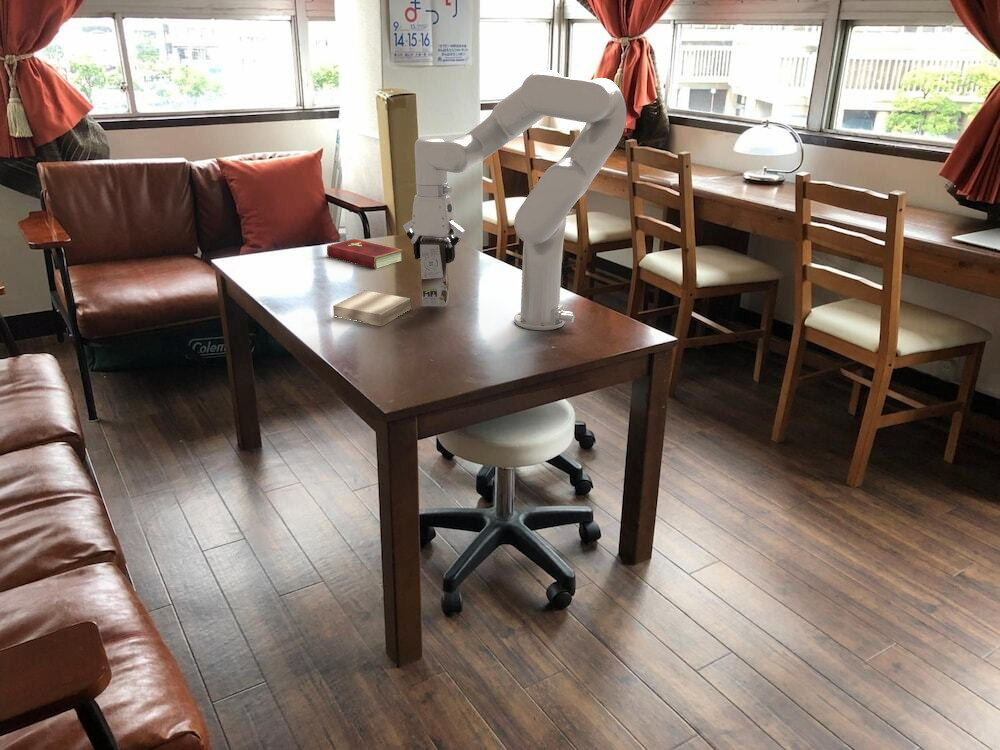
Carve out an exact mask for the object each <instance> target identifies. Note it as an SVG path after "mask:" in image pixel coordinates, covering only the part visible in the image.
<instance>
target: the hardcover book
mask: <svg viewBox="0 0 1000 750" xmlns="http://www.w3.org/2000/svg"><path fill="white" fill-rule="evenodd" d="M403 251H404V249H401V248H398V247H392V246H389V245H384V244H380V243H375V242H371V241H368V240H363V239H358V238H352V239H347V240H344V241H340V242H335V243H331V244H328V245H326V256H327V257H328V256H329V258H332V257H333V258H332V259H336V258H337V259H336V260H339V259H340V261H343V260H344V262H347V261H348V262H347V263H351V262H352V264H355V263H356V265H358V264H359V265H360V266H363V267H367V268H370V269H375V270H377V269H379V268H381V267H386V266H388V265H392V264H395V263H399V262H402V252H403Z"/></svg>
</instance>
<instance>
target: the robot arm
mask: <svg viewBox="0 0 1000 750" xmlns="http://www.w3.org/2000/svg"><path fill="white" fill-rule="evenodd" d="M545 117H551V118H557V119H562V120H568V121H574V122H579V123H585V125H584V126H583V128H582V130H580V132H579V133H578V135H577V136H576V138H575V140H574V141H573V143H572V144H571V145H570V147H569V148H568V150H567V151H566V152H565V153H564V155H563V156H562V157H561V158H560V159H559V160H558V161H556V162H554V163H553V164H552V165H551V166H549V167H548V168H547V169H546V170H545V172H544V173H543V174H542V175H541V176H540V178H539V180H538V181H537V182H536V184H535V185H534V186H533V188H532V189H531V190H530V192H529V194H528V195H527V197H526V198H525V199H524V201H523V202H522V204H521V205H520V207H519V209H518V210H517V212H516V214H515V217H514V221H513V223H514V225H513V226H514V231H515V233H516V235H517V237H518V238H519V239H520V240H521V241H522V242H523V248H522V263H521V265H522V267H521V269H522V271H521V297H520V312H517V313H516V314H514V323H515V324H516V325H517V326H518V327H521V328H524V329H525V330H526V329H527V330H532V331H551V330H556V329H559V328H561V327H563V326H564V325H565V323H566V322H568V323H572V324H573V323H574V321H575V314H574V313H573V311H567V310H566V311H565V310H564V304H561V303H560V300H561V283H562V282H561V281H562V263H563V253H564V252H563V248H564V239H565V234H566V233H565V231H566V227H567V226H566V225H567V215H568V214H569V213H570V211H571V209H572V208H573V207H574V206H575V205H576V203H577V201H579V199H581V198H582V197H583V196H584V195H585V194H586V192H587V190H588V189H589V187H590V185H591V183H592V182H593V180H594V179H595V177H596V176H597V175H598V174H599V172H600V171H601V169H602V167H604V165H605V164H606V162H607V160H608V159H609V157H610V156H611V155H612V154H613V152H614V150H615V149H616V147H618V146H617V145H618V144H619V142H620V141H621V138H622V136H623V133H624V130H625V128H626V123H627V122H626V121H627V106H626V101H625V98H624V95H623V94H622V91H621V90H620V88H619V87H618V85H617V84H615V82H613V81H612V80H611V79H608V78H603V77H599V78H593V79H590V80H587V79H582V78H581V79H580V78H572V77H566V76H562V75H561V74H560V73H559V72H558V71H555V70H552V69H545V70H540V71H536V72H534V73H531V74H530V75H528V76H527V77H526V78H525V80H524V81H523V82H522V84H521V85H520V86H519V87H518V88H517V89H515V91H513V92H511V93H510V94H508V96H506V97H504V99H502V100H500V101H499V102H498V103H497V104H495V106H494V107H493V108H492V111H491V113H490V115H488V117H486V118H485V119H484V120H483V121H482V122H481V123H480V124H478V125H476V126H475V127H474V128H473V129H471V130H470V131H469V132H467V133H466V134H465V135H462V136H460V137H457V138H455V139H452V140H446V141H445V140H444V139H443V138H440V137H434V136H433V137H421V138H418V139H416V141H414V162H415V163H414V165H415V166H414V168H415V185H416V186H415V187H416V189H415V190H416V194H415V195H414V198H413V203H412V219H410V220H409V221H406V222H405V223H404V224H403V225H402V228H403V230H404V231H405V233H406V236H407V237H408V238H409V239H410V243H411V244H412V245H413V246H412V247H413V255H414V259H415V260H418V259H419V260H420V243H421V241H422V238H423V237H433V238H443V240H444V241H445V243H446V245H447V247H446V263H448V264H450V263H452V262H454V261H455V258H456V246H457V244H458V243H460V241H461V239H462V237H463V236H464V234H465V230H464V229H463V228H462V227H461V226H460V225H458V224H457V223H455V222H456V219H455V210H454V206H453V202H452V201H453V200H452V197H451V195H449V194H451V193H452V191H453V188H452V187H450V186H449V185H448V172H449V173H455V174H457V173H458V174H459V173H463V172H465V171H467V170H470V169H471V168H473V167H475V166H477V165H479V164H481V163H482V162H483V161H485V160H486V159H487V158H489V157H490V156H491V155H493V154H494V153H496V152H497V151H499V150H500V149H501V148H502V147H504V146H505V145H507V144H508V143H510V142H511V141H514V140H515V139H516V138H518V137H519V136H520V135H522V134H523V133H525V131H527V130H529V128H531V127H532V126H534V125H536V124H537V123H539V121H540V120H542V119H544V118H545ZM453 235H455V236H453Z"/></svg>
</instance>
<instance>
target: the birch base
mask: <svg viewBox="0 0 1000 750" xmlns="http://www.w3.org/2000/svg"><path fill="white" fill-rule="evenodd" d="M411 300H412V299H411V298H409V297H405V296H399V295H392V294H386V293H382V292H376V291H369V290H363V291H361V292H358V293H357V294H356V293H355V295H353V296H351V297H348V298H347V299H344V300H342V301H340V302H338V303H335V304H334V305H333V307H332V308H333V309H332V310H333V317H334V316H337V317H342V318H346V319H351V320H350V321H352V320H357V321H361V322H360V323H362V322H365V323H364V324H367V323H369V324H368V325H372V326H378V327H383V326H384V325H386V324H388V323H390V322H392V321H393V320H395V319H397V318H399V317H401V316H402V315H404V314H405V312H406V313H408V312H409V311H411V310H412V303H411V302H412V301H411ZM410 309H411V310H410ZM407 311H408V312H407ZM403 313H404V314H403ZM400 315H401V316H400ZM398 316H399V317H398ZM346 319H345V320H346ZM357 321H356V322H357Z"/></svg>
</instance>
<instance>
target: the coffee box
mask: <svg viewBox="0 0 1000 750" xmlns="http://www.w3.org/2000/svg"><path fill="white" fill-rule="evenodd" d="M446 247H447V245H446V243H445V241H444V240H443V238H433V237H425V236H423V237H422V238H421V243H420V258H419V260H420V280H421V283H420V285H421V306H422V307H447V303H448V300H449V297H450V285H449V283H450V282H449V281H450V280H449V263H446Z"/></svg>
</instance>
